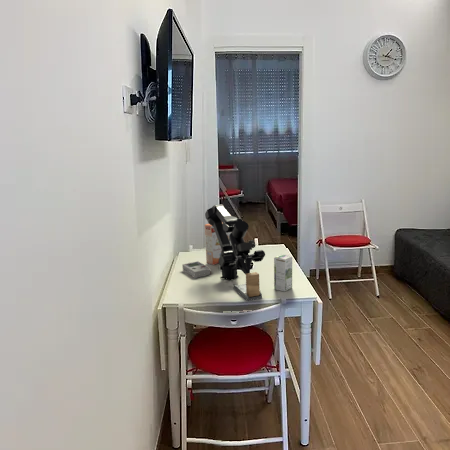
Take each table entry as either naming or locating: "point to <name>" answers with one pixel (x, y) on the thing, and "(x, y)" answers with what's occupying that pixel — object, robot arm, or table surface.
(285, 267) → the syrup box
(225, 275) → the robot arm
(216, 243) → the cracker box
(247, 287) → the brown rectangular block
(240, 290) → the rail
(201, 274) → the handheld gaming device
